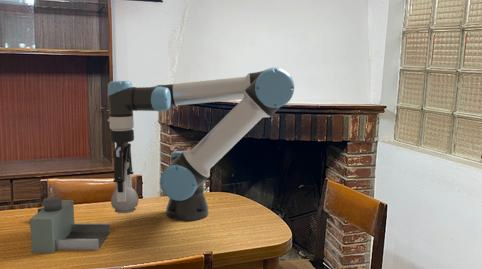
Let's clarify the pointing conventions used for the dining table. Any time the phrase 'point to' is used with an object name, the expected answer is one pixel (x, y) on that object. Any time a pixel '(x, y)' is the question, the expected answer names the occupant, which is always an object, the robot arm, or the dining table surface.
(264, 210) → the dining table surface
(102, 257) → the dining table surface
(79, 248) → the side bay
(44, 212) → the housing
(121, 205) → the potion bottle
